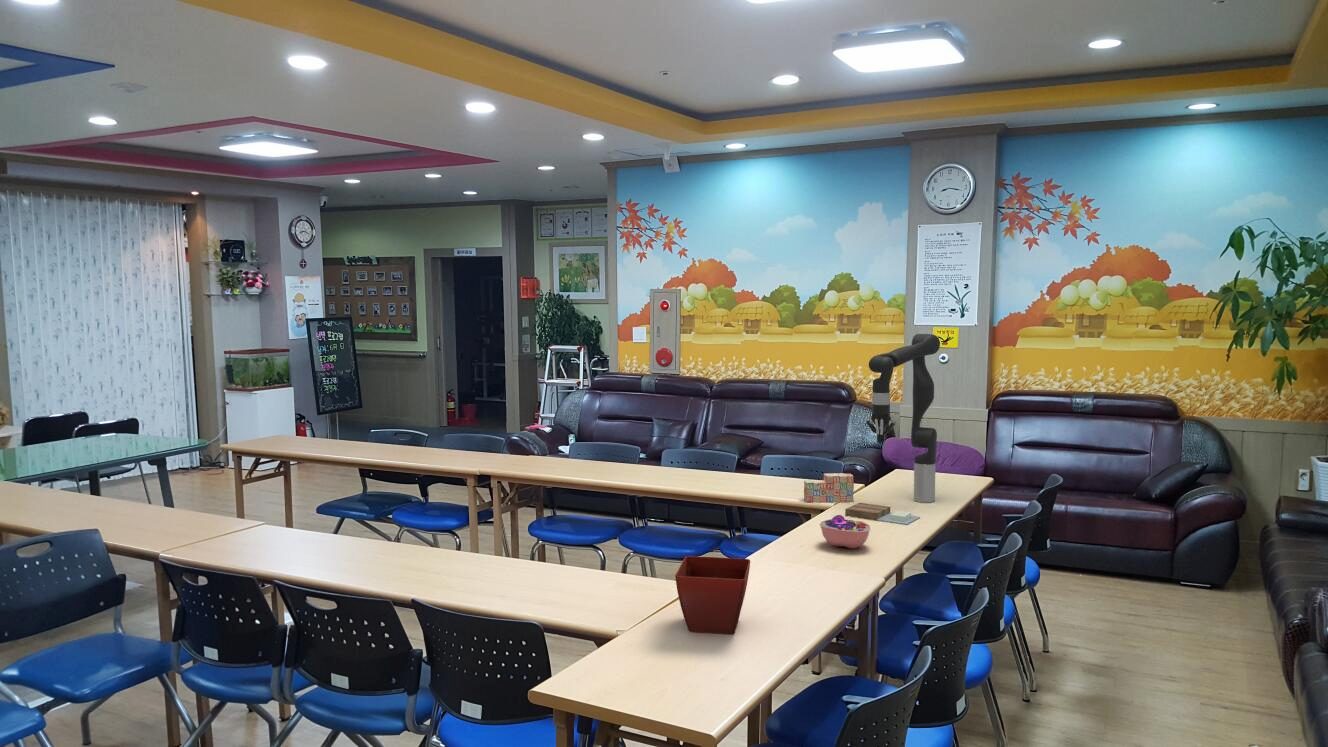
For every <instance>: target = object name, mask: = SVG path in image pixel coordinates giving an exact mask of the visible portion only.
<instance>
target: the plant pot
mask: <svg viewBox="0 0 1328 747" xmlns="http://www.w3.org/2000/svg"><path fill="white" fill-rule="evenodd" d="M750 566H751V559H749V558H736V557H735V558H734V557H716V556H715V557H714V556H696V555H686V556H684V558H683V560H682V562H681V564H680V566H679V567H678V569H677V571H676V573H675V584H676V591H677V595H678V601H679V604H680V609H681V612H682V615H683V618H684V622H685V625H686V627H687V630H688V631H689V632H690V633H691V632H693V633H708V634H720V635H721V634H722V635H723V634H724V635H734V634H735V633H736V630H737V627H738V623H739V620H740V615H741V611H742V607H743V605H744V601H745V596H746V591H747V585H748V580H749V575H750V569H751V568H750Z"/></svg>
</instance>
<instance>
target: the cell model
mask: <svg viewBox="0 0 1328 747" xmlns="http://www.w3.org/2000/svg"><path fill="white" fill-rule="evenodd" d="M819 527H820V529H821V534H822V536H823V538H824V539H825V540H826V542H827V543H828V544H829V545H831V546H834V547H840V548H841V547H844V548H848V549H856V548H859V547H861V546H863V545H865V543H866V542H867V540H868V538H869V534H870V531H871V525H870V524H868V523H866V522H864V521H858V520H853V519H846V518H845V516H843V515H841V514H836V515H834V516H833V517H832V518H831V519H826V520H822V521H821V522H820V523H819Z"/></svg>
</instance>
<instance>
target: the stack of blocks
mask: <svg viewBox="0 0 1328 747" xmlns="http://www.w3.org/2000/svg"><path fill="white" fill-rule="evenodd" d="M803 481H804V482H803V483H804V484H803V500H804V502H805V503H806V504H808V503H809V504H810V503H811V504H812V503H813V504H814V503H815V504H817V503H818V504H822V503H825V504H828V503H829V504H830V503H831V504H832V503H835V504H836V503H841V504H842V503H847V504H849V503H850V502H853V503H854V492H855V491H854V488H855V484H854V483H855V482H854V475H853V474H851V473H843V472H841V473H840V472H839V473H837V472H836V473H823V479H821V480H820V479H819V480H818V479H812V480H811V479H808V480H807V479H804V480H803Z"/></svg>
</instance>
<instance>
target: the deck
mask: <svg viewBox="0 0 1328 747" xmlns="http://www.w3.org/2000/svg"><path fill="white" fill-rule="evenodd" d="M844 510H845V511H844V515H845V516H844V517H848V516H850V518H855V517H857V518H858V519H862V518H863V520H869V521H876V522H877V519H879V518H881V517H883V516H885V515H887V514H889V513H891V506H887V505H879V504H872V503H871V504H870V503H864V502H858V503H856V504H853V505H852V506H849V507H847V508H845V509H844Z"/></svg>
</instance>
